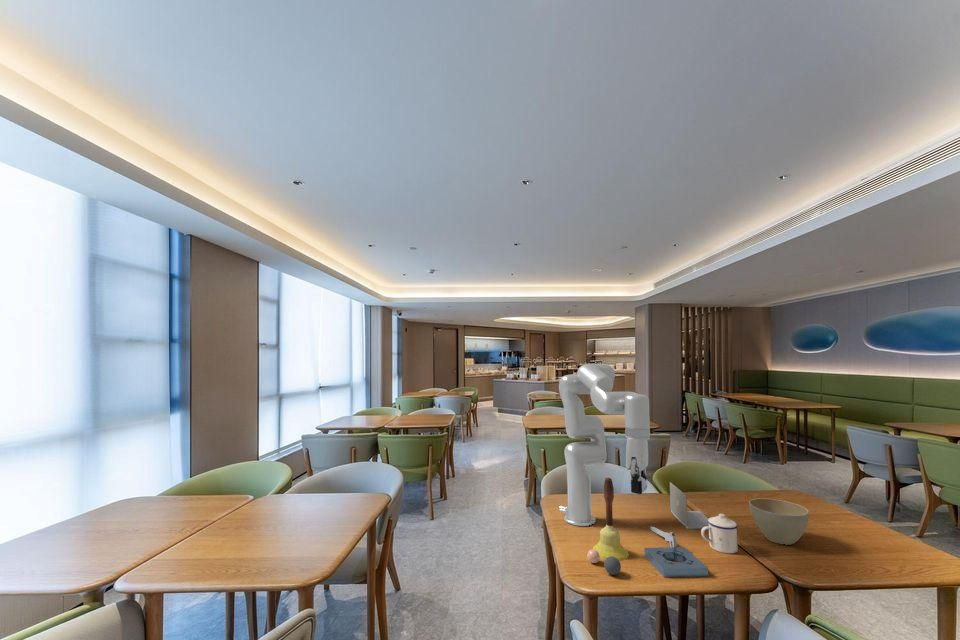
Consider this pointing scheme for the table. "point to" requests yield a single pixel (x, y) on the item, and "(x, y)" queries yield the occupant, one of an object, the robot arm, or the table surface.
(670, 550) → the housing plate
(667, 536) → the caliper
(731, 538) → the teacup with lid
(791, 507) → the grey beige bowl
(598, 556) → the pink ball
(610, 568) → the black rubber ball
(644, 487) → the steel ball
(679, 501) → the laptop
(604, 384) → the robot arm
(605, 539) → the handbell
